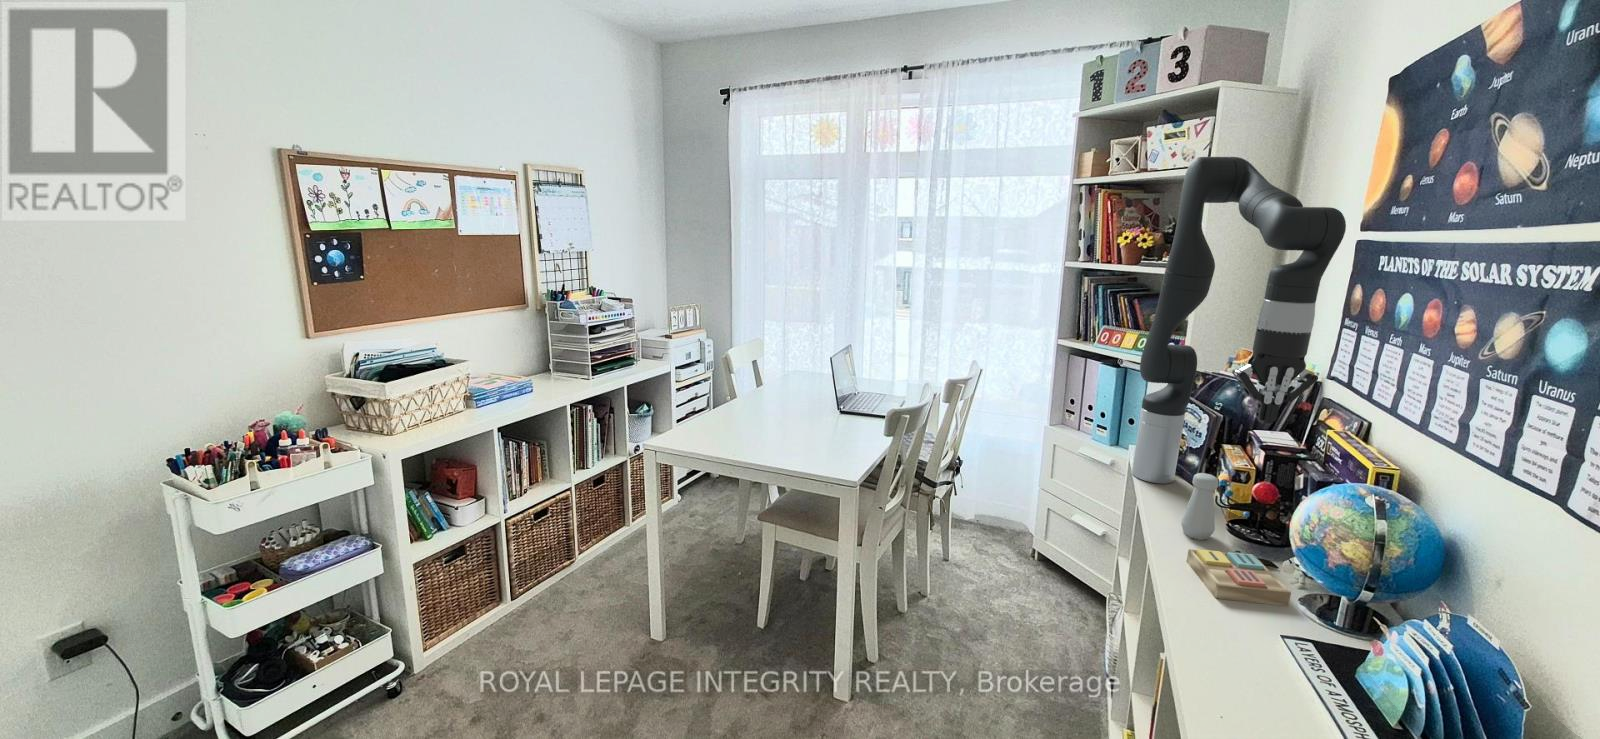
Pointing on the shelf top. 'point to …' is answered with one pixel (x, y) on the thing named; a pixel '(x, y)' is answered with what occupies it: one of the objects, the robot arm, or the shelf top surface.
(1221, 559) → the tile
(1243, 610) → the shelf top surface
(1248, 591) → the button board
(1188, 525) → the salt shaker
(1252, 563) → the tile
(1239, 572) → the tile
